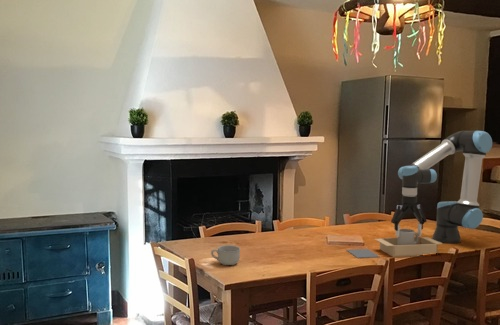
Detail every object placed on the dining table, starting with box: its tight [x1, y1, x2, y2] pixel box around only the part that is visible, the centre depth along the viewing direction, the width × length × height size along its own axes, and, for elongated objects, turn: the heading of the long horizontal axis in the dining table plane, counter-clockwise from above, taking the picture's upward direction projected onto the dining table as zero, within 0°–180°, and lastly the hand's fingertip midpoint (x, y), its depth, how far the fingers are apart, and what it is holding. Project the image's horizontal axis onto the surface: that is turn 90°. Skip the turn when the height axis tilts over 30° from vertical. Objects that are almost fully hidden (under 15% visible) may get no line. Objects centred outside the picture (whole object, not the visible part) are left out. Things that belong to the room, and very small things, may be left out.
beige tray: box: [374, 236, 444, 258], centre depth 252 cm, size 31×17×6 cm, turn 100°
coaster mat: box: [346, 248, 380, 259], centre depth 248 cm, size 12×15×1 cm
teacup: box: [210, 244, 241, 266], centre depth 228 cm, size 14×11×8 cm
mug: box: [397, 228, 419, 245], centre depth 251 cm, size 12×8×11 cm
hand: (408, 236), depth 251 cm, fingers closed on mug, 12 cm apart
